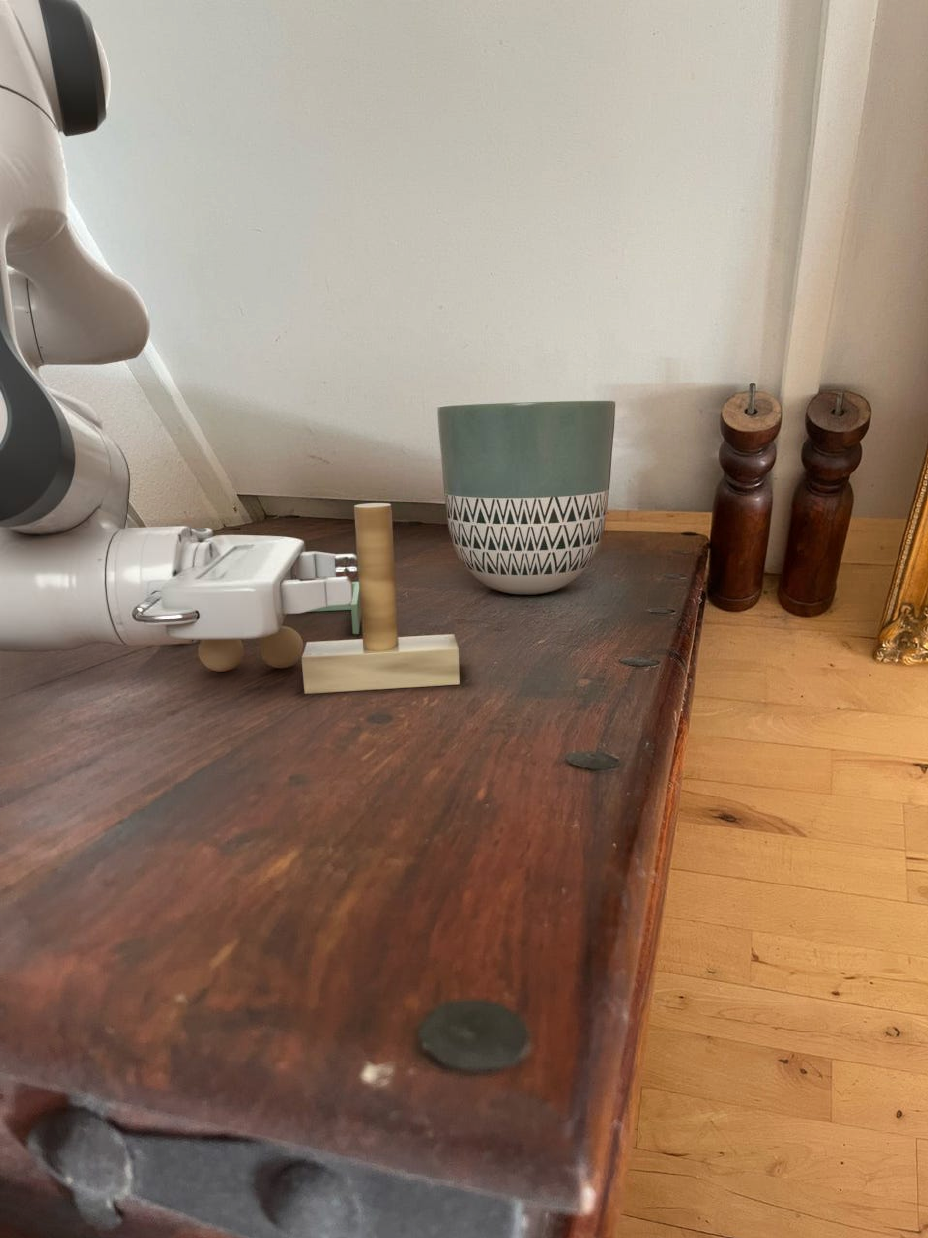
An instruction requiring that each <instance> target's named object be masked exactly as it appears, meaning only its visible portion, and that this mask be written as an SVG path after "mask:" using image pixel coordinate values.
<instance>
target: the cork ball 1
mask: <svg viewBox="0 0 928 1238" xmlns="http://www.w3.org/2000/svg"><path fill="white" fill-rule="evenodd" d="M197 650H198V657H199V660H200V662H201V663H202V664H203V666H204V667H206V668H207V669H208V670H210V671H212V672H217V673H224V672H229V671H231V670H233V669H235V668H236V667H237V666H238V665H239V664H240V662H241V661H242V659H243V656H244V645H243V642H242V639H234V640H200V642H199V644H198V649H197Z"/></svg>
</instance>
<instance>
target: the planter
mask: <svg viewBox="0 0 928 1238" xmlns="http://www.w3.org/2000/svg"><path fill="white" fill-rule="evenodd" d="M436 413H437V414H436V415H437V417H436V418H437V430H438V440H439V449H440V461H441V471H442V474H441V475H442V484H443V492H444V493H443V494H444V505H445V513H446V522H447V528H448V533H449V536H450V540H451V542H452V545H453V548H454V550H455V553H456V555H457V557H458V559H459V560H460V562H461V564H463V566H464V567H465V569H466V570H467V571H468V572H469V573H470V574H471V575H472V576H473V577H475V579H477V580H478V581H479V582H481V583H482V584H483V585H485V586H487V587H488V588H490V589H492V590H495V591H498V592H501V593H505V594H511V595H519V596H520V595H526V596H531V595H541V594H547V593H551V592H554V591H557V590H559V589H562V588H564V587H566V586H567V585H569V584H570V583H572V582H573V581H575V579H577V578H578V577H579V576H580V575H581V574H583V572H584V571H585V570H586V569H587V568H588V566H589V565H590V564H591V563H592V561H593V560H594V558H595V556H596V555H597V553H598V551H599V548H600V547H601V543H602V540H603V538H604V537H603V536H604V532H605V528H606V524H607V516H608V508H609V507H608V506H609V495H610V494H609V493H610V486H611V485H610V484H611V483H610V482H611V473H612V471H611V469H612V457H613V446H614V445H613V444H614V432H615V418H616V401H615V400H561V401H560V400H557V401H555V400H554V401H522V402H521V401H519V402H495V403H494V402H493V403H492V402H491V403H471V404H470V403H469V404H468V403H467V404H451V405H439V406H437V407H436Z"/></svg>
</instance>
